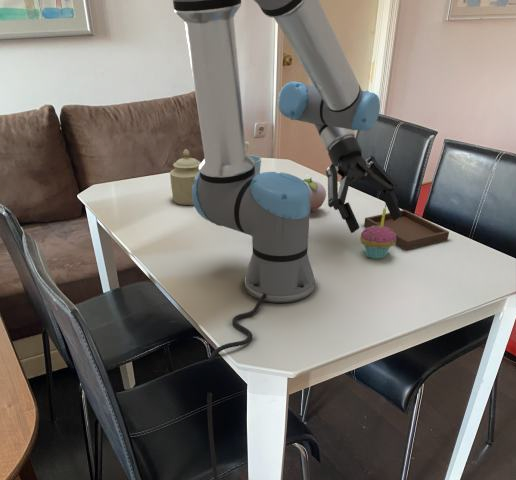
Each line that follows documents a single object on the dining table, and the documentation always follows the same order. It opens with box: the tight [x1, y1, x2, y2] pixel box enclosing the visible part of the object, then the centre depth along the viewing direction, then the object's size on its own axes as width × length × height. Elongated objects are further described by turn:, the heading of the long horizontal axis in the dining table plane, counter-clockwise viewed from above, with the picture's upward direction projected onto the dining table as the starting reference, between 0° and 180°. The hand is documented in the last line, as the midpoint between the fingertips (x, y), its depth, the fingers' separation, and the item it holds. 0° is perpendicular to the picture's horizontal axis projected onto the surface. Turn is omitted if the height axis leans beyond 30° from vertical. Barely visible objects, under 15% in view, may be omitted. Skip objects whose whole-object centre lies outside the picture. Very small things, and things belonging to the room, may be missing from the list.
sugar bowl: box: [169, 148, 202, 206], centre depth 153 cm, size 15×11×15 cm
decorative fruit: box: [302, 177, 327, 213], centre depth 144 cm, size 9×8×10 cm
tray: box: [363, 209, 450, 251], centre depth 133 cm, size 18×14×2 cm
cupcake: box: [359, 204, 396, 260], centre depth 120 cm, size 9×8×12 cm
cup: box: [248, 155, 262, 176], centre depth 158 cm, size 8×8×10 cm
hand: (377, 224), depth 120 cm, fingers open, 13 cm apart
